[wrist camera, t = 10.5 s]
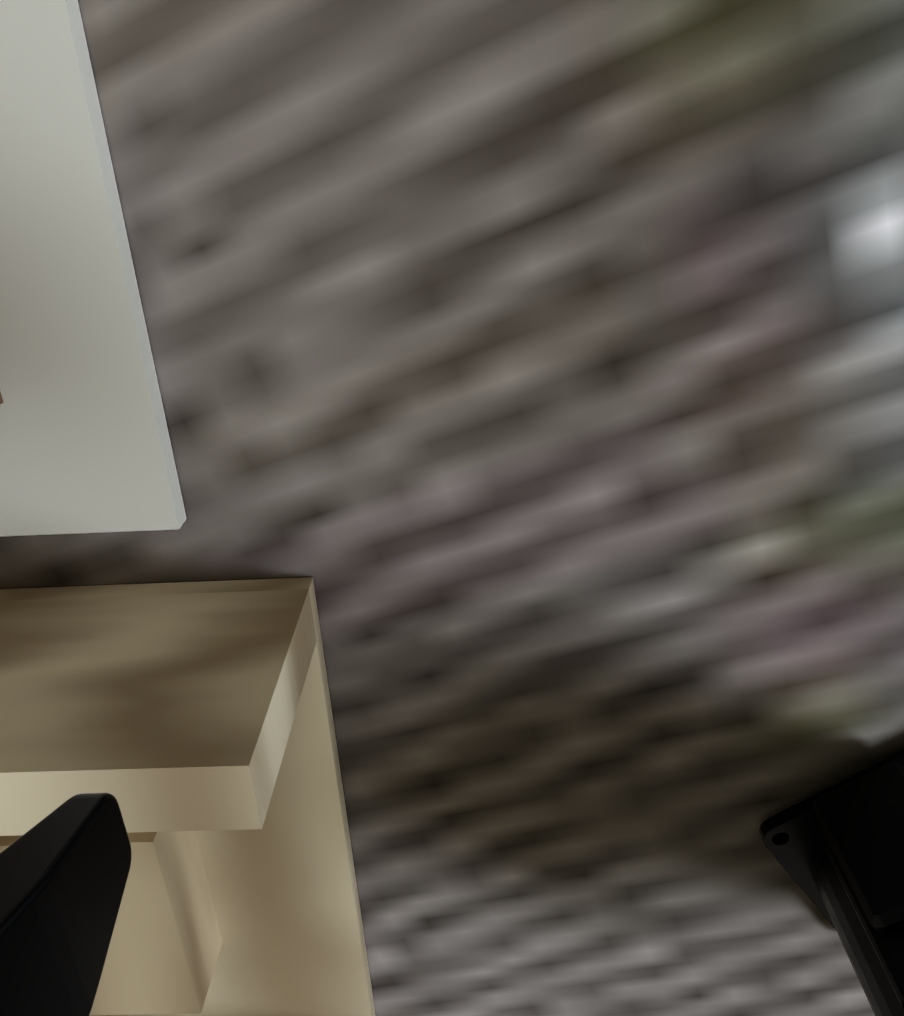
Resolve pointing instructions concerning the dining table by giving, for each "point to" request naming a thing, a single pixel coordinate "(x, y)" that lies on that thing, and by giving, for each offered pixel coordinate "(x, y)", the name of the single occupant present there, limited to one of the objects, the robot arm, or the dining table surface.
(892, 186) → the dining table surface
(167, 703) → the slot box
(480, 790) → the dining table surface
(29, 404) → the grey mat
